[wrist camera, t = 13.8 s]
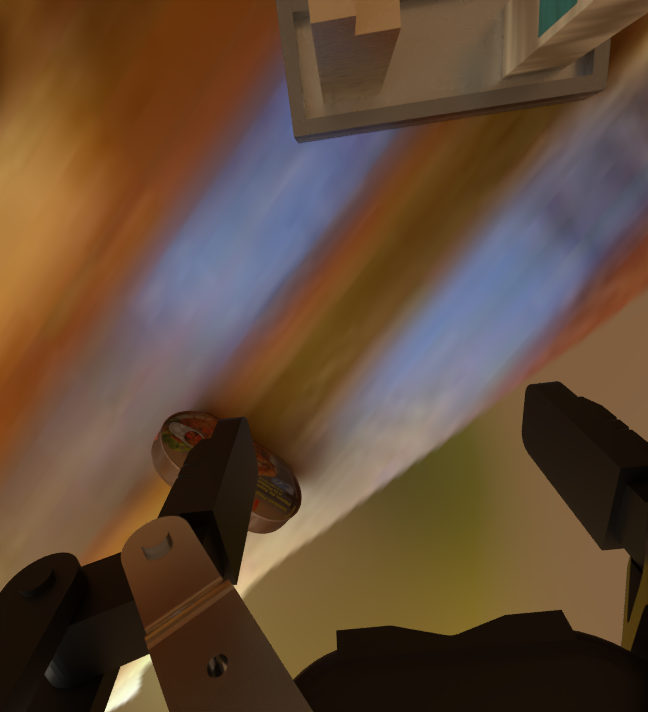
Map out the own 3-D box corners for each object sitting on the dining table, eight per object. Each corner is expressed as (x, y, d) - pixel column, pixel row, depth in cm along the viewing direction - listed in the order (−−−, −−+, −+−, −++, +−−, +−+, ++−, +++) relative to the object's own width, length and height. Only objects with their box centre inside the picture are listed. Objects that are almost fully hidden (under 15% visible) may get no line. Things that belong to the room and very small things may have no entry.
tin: (306, 474, 42) (298, 533, 34) (290, 493, 43) (278, 555, 35) (185, 396, 40) (146, 441, 32) (170, 419, 41) (129, 467, 33)
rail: (297, 143, 32) (265, 88, 18) (281, 16, 29) (227, -162, 15) (583, 99, 30) (786, 2, 16) (594, -41, 27) (848, -298, 14)
